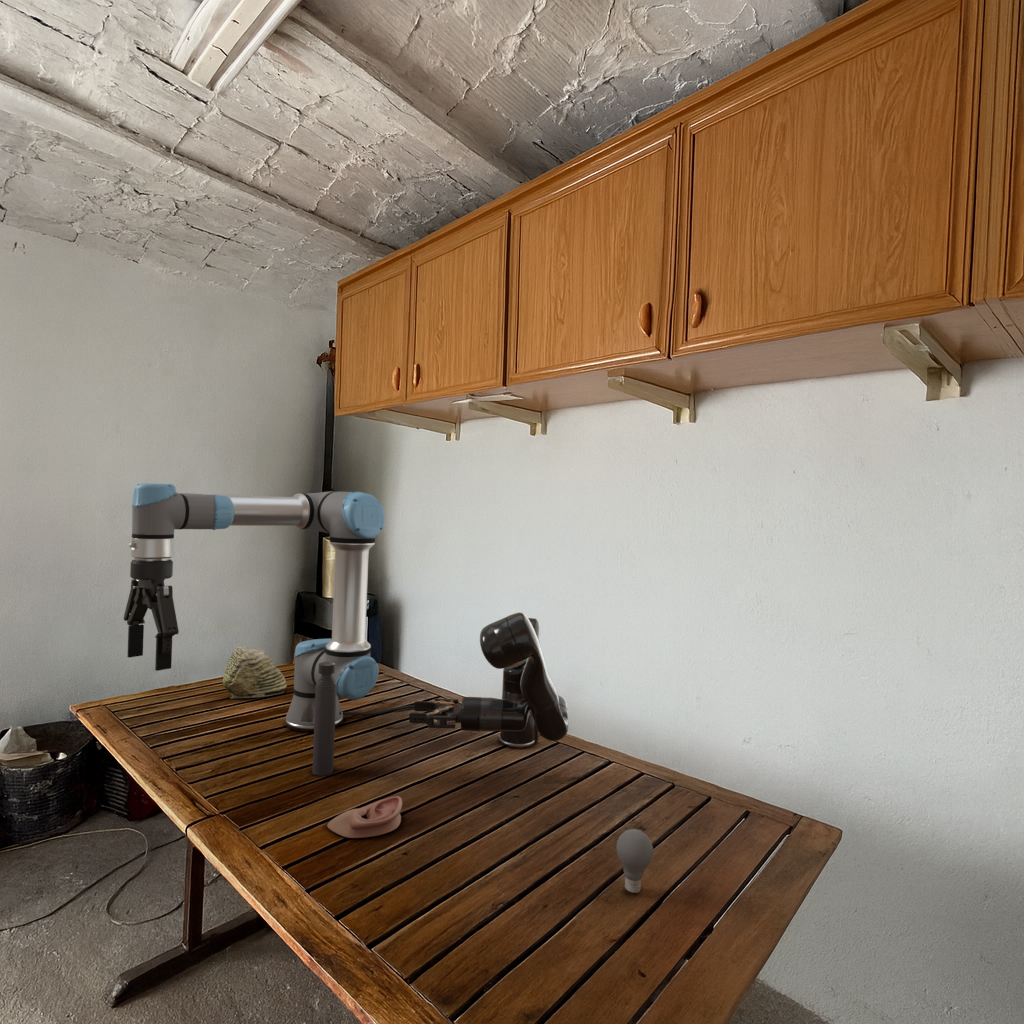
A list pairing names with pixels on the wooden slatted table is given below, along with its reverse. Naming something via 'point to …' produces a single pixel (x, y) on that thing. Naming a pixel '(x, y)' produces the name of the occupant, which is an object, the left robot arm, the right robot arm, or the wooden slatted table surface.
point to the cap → (326, 668)
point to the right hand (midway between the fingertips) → (411, 711)
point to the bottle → (324, 726)
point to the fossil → (252, 674)
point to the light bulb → (634, 857)
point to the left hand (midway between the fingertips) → (148, 662)
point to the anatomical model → (369, 819)
